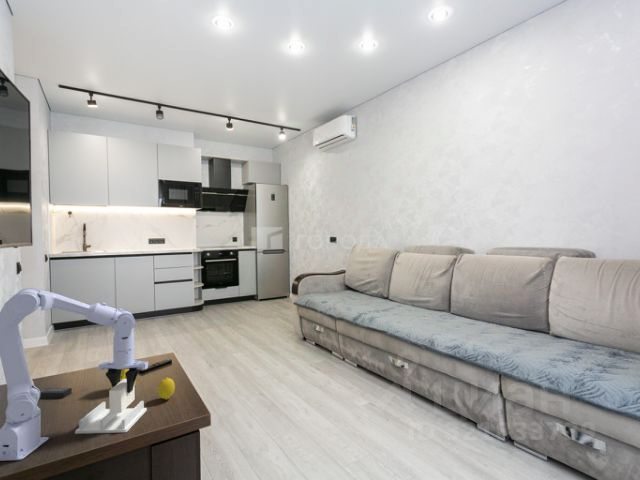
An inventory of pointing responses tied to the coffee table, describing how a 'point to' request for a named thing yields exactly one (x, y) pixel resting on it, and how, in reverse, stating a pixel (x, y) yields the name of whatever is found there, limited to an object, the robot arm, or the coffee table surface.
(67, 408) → the coffee table surface
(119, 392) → the cream rectangular prism
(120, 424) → the dish rack
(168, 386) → the lemon
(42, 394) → the multiport hub
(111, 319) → the robot arm
